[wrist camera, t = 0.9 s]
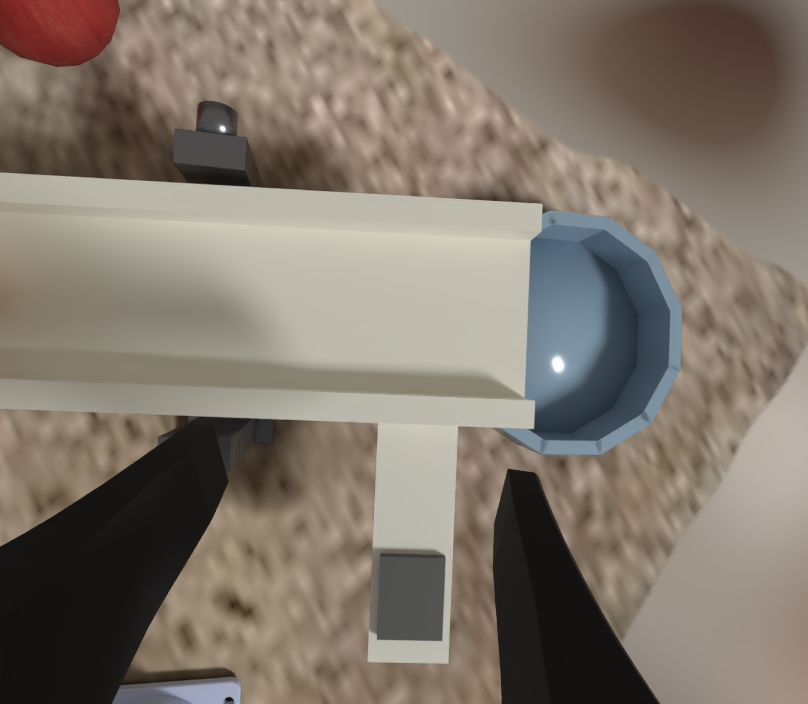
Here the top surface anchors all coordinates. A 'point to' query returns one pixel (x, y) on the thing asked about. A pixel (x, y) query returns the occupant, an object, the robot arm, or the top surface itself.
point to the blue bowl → (595, 336)
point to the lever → (283, 335)
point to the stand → (231, 166)
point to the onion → (57, 29)
